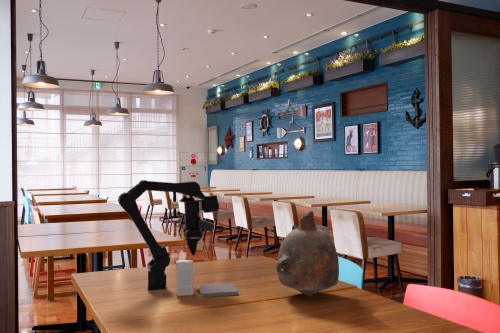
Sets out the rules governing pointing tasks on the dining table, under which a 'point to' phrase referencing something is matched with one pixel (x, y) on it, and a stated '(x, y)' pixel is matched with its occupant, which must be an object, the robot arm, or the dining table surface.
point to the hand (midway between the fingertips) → (192, 253)
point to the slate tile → (218, 290)
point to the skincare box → (184, 277)
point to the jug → (308, 258)
